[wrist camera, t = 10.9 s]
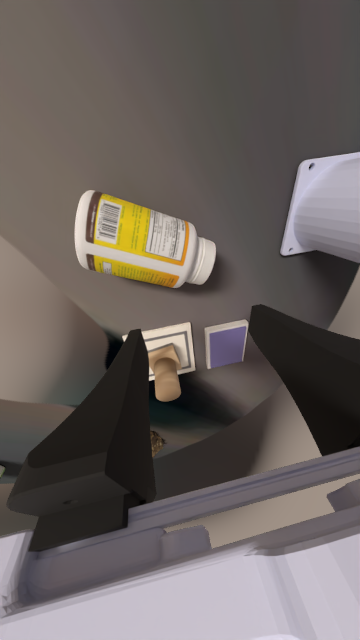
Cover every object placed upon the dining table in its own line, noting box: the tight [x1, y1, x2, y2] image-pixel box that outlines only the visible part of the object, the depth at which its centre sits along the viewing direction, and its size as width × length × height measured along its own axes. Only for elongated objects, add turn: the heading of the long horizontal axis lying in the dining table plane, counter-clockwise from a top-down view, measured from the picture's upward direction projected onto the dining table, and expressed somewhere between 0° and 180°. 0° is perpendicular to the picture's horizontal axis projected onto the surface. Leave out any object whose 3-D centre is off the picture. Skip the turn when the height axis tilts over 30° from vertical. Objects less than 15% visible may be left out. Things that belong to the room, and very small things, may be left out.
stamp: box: [148, 343, 182, 401], centre depth 23 cm, size 4×4×6 cm
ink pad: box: [205, 319, 248, 369], centre depth 27 cm, size 6×8×1 cm
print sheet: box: [123, 322, 195, 381], centre depth 26 cm, size 9×10×1 cm
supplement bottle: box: [75, 190, 216, 288], centre depth 15 cm, size 6×6×10 cm
